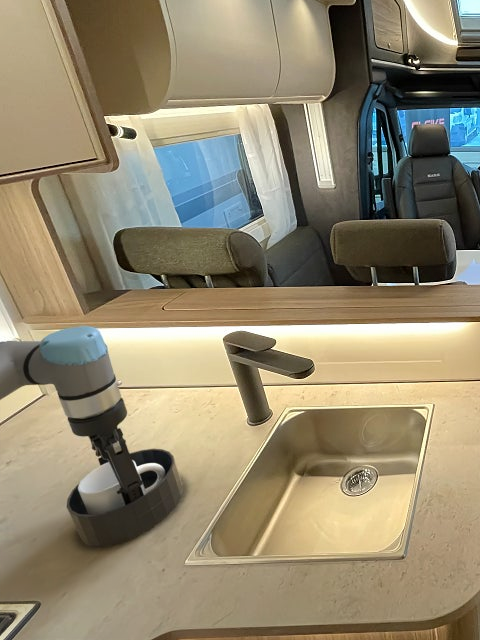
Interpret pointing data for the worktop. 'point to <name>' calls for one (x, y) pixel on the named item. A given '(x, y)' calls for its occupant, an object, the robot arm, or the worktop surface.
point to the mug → (110, 487)
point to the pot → (130, 505)
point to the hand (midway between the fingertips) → (126, 494)
